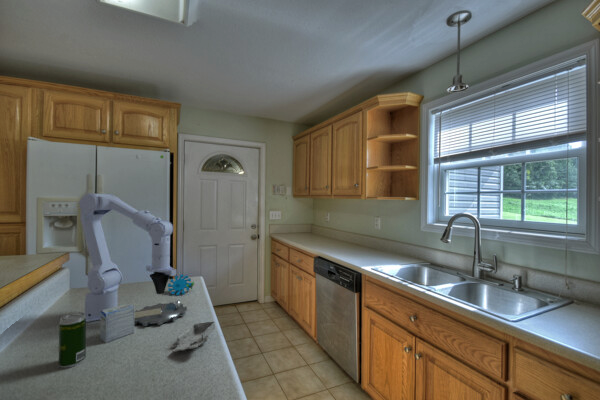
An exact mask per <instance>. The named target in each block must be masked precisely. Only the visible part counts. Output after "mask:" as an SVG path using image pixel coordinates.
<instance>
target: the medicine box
mask: <svg viewBox="0 0 600 400" xmlns="http://www.w3.org/2000/svg"><path fill="white" fill-rule="evenodd" d="M134 312H135V306H134V305H132V304H130V303H123V304H121V305H118V306H116V307H113V308H109V309H106V310H102V311H101V320H100V339H101V340H102V341H103V342H105V344H107V343H109V342H112V341H115V340H117V339H120V338H124V337H126V336H128V335H131V334H133V333H135V324H134Z"/></svg>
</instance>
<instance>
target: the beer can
mask: <svg viewBox="0 0 600 400" xmlns="http://www.w3.org/2000/svg"><path fill="white" fill-rule="evenodd" d="M86 345H87V322H86V317H85V312H73V313H69V314H65V315H63V316H61V317H60V319H59V322H58V365H59V367H60V368H62V369H70V368H73V367H76V366H78V365H79V366H80V364H82V363H83V362H84V361H85V359H86V355H87V346H86Z"/></svg>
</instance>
